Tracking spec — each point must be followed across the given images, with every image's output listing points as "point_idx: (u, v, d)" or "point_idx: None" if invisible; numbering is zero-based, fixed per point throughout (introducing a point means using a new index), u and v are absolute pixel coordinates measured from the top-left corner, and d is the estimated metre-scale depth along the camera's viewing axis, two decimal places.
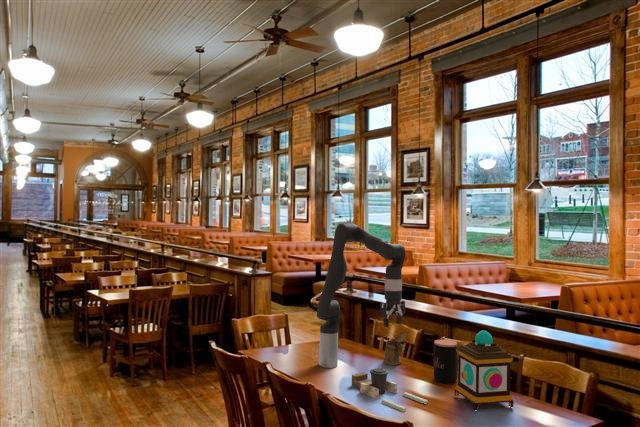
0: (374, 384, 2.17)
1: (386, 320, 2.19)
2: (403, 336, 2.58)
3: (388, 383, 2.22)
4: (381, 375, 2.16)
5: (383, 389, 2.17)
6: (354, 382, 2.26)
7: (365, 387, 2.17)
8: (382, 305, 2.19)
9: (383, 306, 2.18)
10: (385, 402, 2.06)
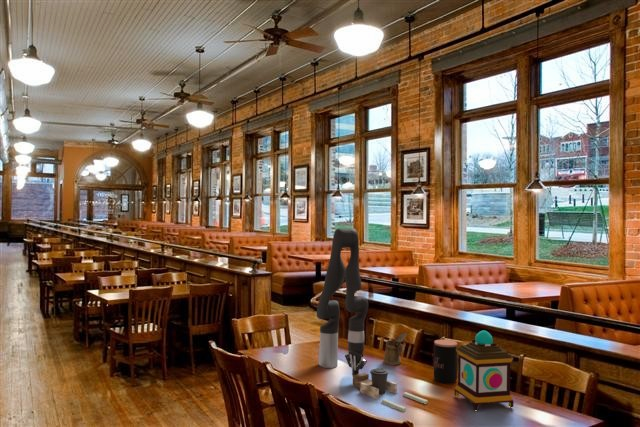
0: (375, 384, 2.17)
1: None
2: (403, 336, 2.58)
3: (388, 383, 2.22)
4: (381, 375, 2.16)
5: (383, 389, 2.17)
6: (356, 382, 2.26)
7: (365, 387, 2.17)
8: (364, 362, 2.26)
9: (365, 363, 2.27)
10: (385, 402, 2.06)
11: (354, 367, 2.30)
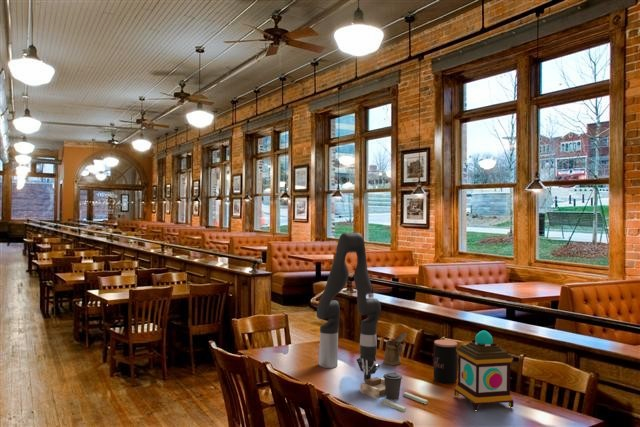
0: (389, 389, 2.11)
1: None
2: (403, 336, 2.58)
3: None
4: (395, 380, 2.10)
5: (397, 394, 2.11)
6: None
7: (365, 387, 2.17)
8: (376, 367, 2.20)
9: (377, 367, 2.21)
10: (385, 402, 2.06)
11: (366, 371, 2.24)
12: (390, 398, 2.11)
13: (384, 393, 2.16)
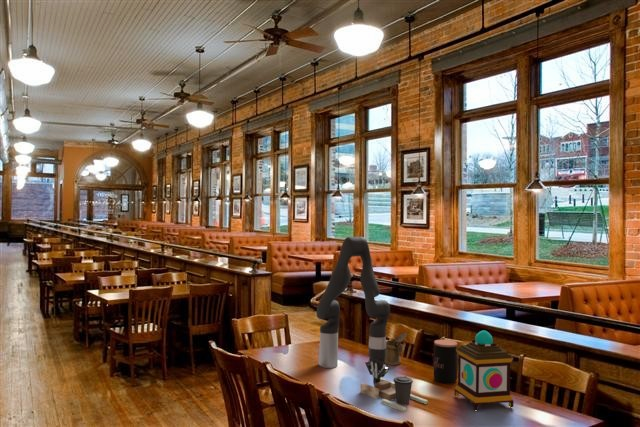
0: (399, 393, 2.06)
1: (379, 379, 2.20)
2: (403, 336, 2.58)
3: None
4: (406, 384, 2.05)
5: (408, 398, 2.06)
6: None
7: (365, 387, 2.17)
8: (386, 370, 2.16)
9: (387, 370, 2.16)
10: (385, 402, 2.06)
11: (375, 375, 2.19)
12: (400, 402, 2.06)
13: (394, 397, 2.11)
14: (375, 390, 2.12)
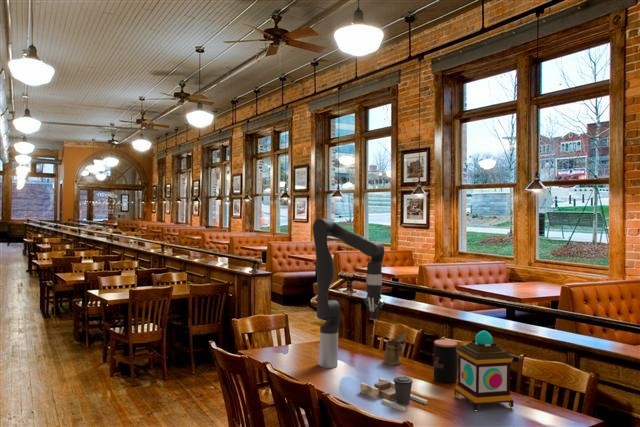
0: (399, 393, 2.06)
1: None
2: (403, 336, 2.58)
3: None
4: (406, 384, 2.05)
5: (408, 398, 2.06)
6: None
7: (365, 387, 2.17)
8: (382, 303, 2.39)
9: (382, 304, 2.40)
10: (385, 402, 2.06)
11: (372, 309, 2.43)
12: (400, 402, 2.06)
13: (394, 397, 2.11)
14: (375, 390, 2.12)
